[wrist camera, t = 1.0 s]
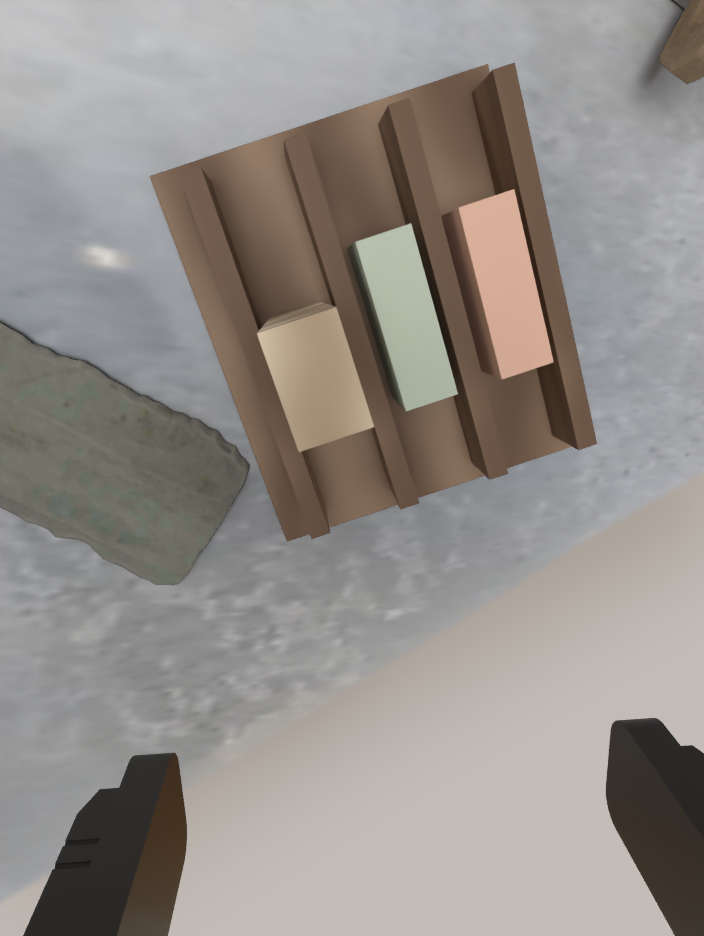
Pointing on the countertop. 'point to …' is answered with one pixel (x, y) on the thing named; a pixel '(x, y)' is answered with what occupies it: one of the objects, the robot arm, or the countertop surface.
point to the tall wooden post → (314, 374)
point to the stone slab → (109, 463)
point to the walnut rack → (334, 282)
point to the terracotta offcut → (498, 285)
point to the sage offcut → (402, 317)
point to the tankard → (686, 43)
